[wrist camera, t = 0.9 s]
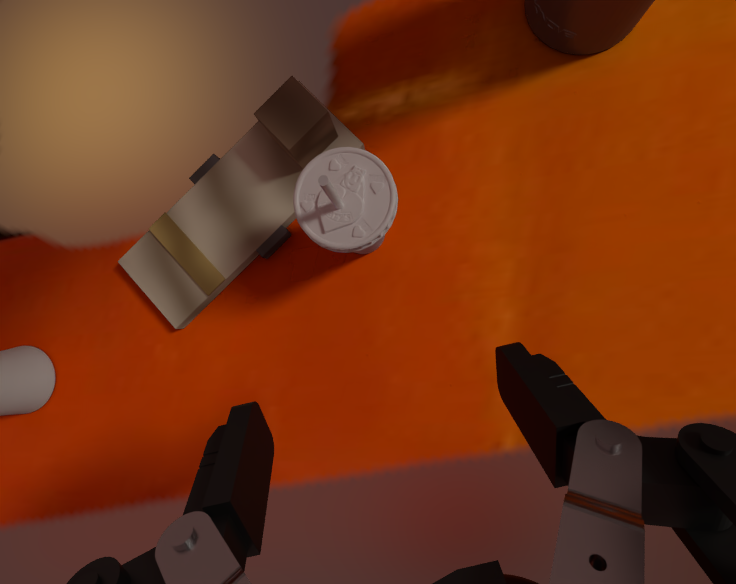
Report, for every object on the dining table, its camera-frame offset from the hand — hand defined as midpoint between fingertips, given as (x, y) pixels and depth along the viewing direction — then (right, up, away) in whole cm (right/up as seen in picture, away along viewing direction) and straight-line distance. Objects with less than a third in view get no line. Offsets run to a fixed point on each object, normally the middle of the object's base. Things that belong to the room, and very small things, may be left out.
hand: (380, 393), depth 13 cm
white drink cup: (-1, +8, +20) cm, 22 cm away
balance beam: (-11, +11, +21) cm, 26 cm away
